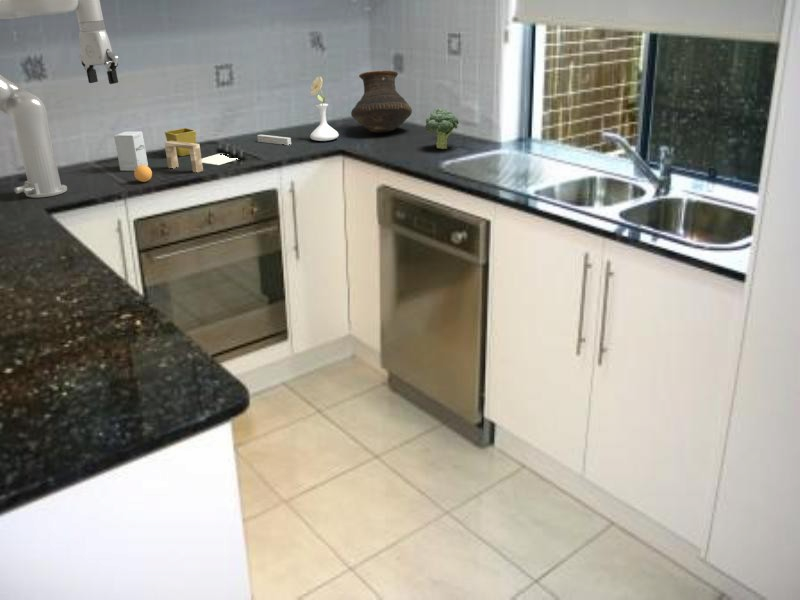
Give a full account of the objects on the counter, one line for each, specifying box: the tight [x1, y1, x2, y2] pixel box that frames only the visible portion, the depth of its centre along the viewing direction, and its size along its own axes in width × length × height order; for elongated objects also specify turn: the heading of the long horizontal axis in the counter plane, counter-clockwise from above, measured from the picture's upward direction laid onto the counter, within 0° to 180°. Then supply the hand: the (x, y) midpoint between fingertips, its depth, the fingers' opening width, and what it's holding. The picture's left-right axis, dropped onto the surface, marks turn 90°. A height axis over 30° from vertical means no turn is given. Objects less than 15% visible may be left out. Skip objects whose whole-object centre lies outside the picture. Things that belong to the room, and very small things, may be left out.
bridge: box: [163, 140, 204, 173], centre depth 273 cm, size 3×15×9 cm, turn 56°
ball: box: [133, 165, 153, 183], centre depth 261 cm, size 6×6×6 cm
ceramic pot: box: [350, 70, 413, 134], centre depth 314 cm, size 24×24×22 cm
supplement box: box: [113, 131, 149, 172], centre depth 277 cm, size 7×7×13 cm
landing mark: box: [201, 153, 239, 166], centre depth 287 cm, size 13×13×1 cm
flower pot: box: [164, 127, 197, 157], centre depth 295 cm, size 9×9×9 cm
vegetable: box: [425, 107, 460, 150], centre depth 285 cm, size 12×13×15 cm
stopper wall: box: [256, 134, 292, 146], centre depth 309 cm, size 2×16×2 cm, turn 56°
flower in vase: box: [309, 76, 340, 142], centre depth 305 cm, size 13×11×25 cm
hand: (103, 82), depth 253 cm, fingers open, 9 cm apart
